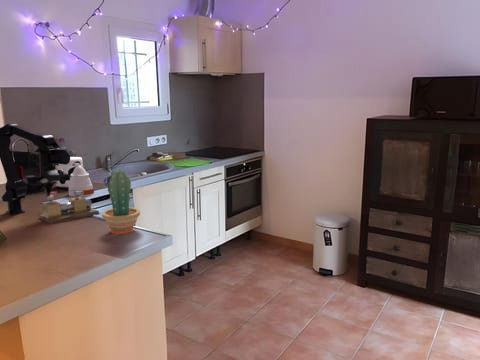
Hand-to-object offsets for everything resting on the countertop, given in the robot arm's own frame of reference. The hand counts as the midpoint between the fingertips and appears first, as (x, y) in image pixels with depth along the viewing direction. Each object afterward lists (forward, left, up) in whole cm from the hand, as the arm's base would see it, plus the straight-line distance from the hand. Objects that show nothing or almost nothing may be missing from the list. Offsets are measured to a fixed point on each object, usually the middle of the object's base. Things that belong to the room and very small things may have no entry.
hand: (48, 196), depth 180 cm
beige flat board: (+6, +7, -9) cm, 13 cm away
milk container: (-56, +37, -9) cm, 67 cm away
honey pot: (-33, +32, -9) cm, 46 cm away
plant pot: (+22, +24, -9) cm, 34 cm away
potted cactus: (+42, +12, -9) cm, 45 cm away
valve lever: (+4, 0, 0) cm, 4 cm away
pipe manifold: (+6, +7, -8) cm, 12 cm away
